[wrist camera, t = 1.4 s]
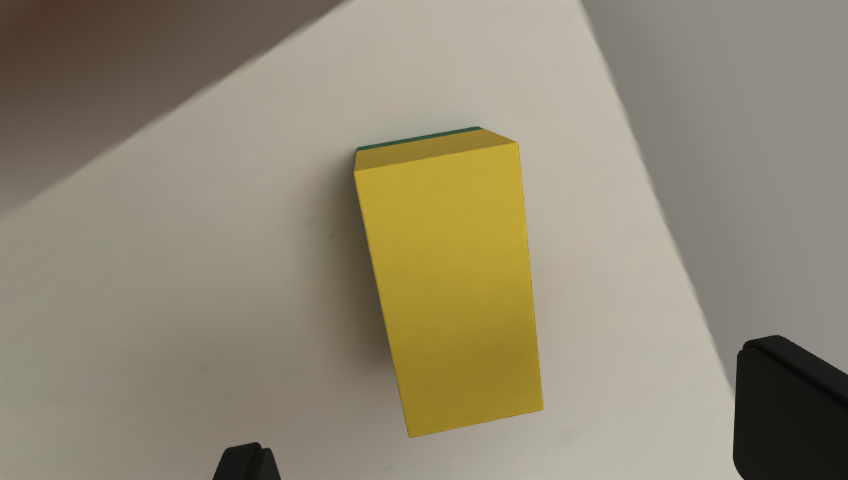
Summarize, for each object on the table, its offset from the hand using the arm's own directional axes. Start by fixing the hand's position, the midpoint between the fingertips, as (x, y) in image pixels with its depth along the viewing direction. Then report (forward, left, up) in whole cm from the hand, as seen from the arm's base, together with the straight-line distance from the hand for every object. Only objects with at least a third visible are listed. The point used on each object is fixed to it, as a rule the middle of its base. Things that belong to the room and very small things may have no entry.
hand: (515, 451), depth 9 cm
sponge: (-1, 0, -11) cm, 11 cm away
